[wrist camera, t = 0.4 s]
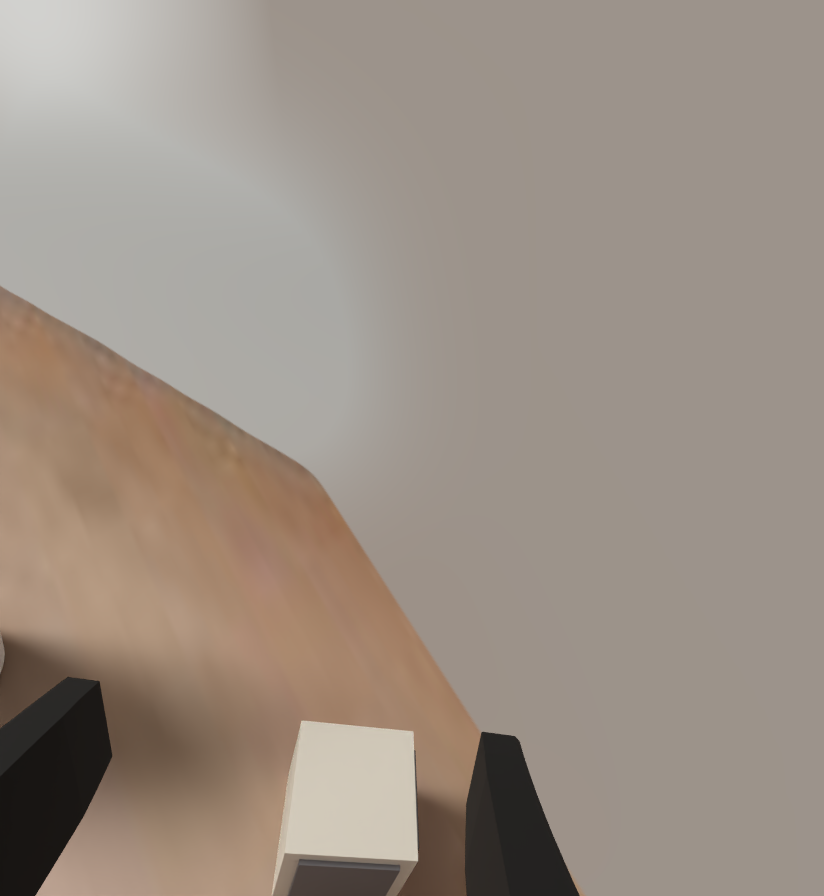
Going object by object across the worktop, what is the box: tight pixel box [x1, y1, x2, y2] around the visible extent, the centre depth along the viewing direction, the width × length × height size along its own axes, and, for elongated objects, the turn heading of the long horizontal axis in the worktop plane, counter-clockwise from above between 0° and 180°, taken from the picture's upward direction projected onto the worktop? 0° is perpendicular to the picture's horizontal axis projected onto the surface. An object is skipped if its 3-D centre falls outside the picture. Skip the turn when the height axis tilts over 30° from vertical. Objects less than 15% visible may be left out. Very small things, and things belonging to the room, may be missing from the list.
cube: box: [272, 721, 419, 896], centre depth 27 cm, size 6×6×6 cm
